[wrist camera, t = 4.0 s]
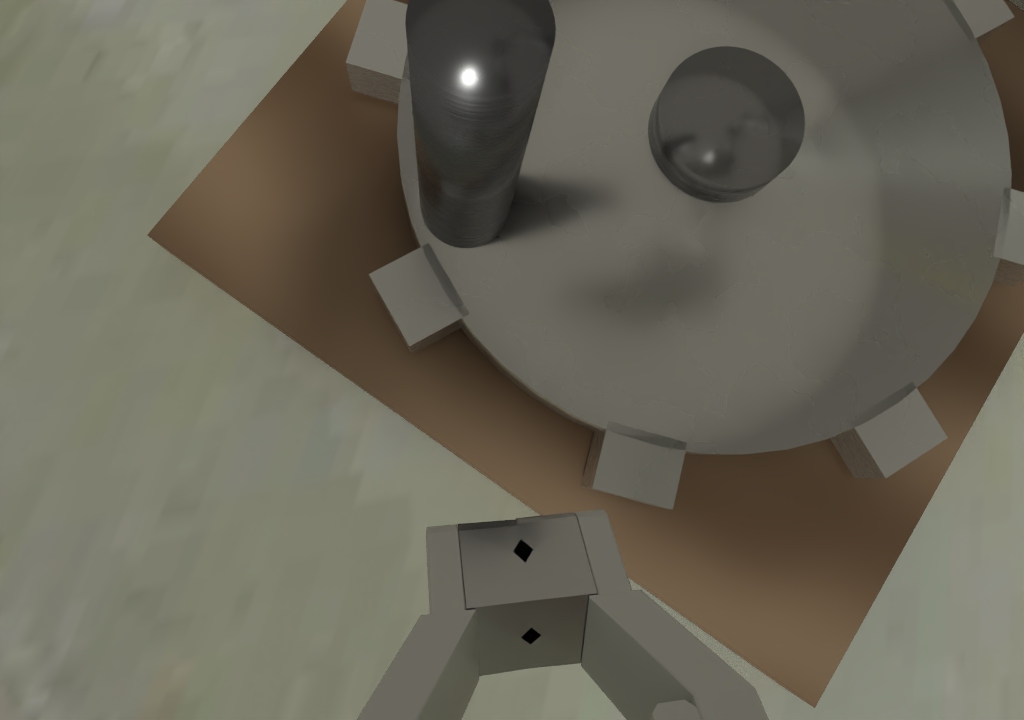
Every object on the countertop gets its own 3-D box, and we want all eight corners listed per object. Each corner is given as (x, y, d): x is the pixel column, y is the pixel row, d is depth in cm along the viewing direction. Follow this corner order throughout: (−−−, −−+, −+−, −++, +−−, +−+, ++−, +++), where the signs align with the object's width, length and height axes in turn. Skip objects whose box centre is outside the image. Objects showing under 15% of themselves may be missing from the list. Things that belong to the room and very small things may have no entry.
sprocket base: (590, -253, 26) (612, -357, 22) (1114, 116, 26) (1212, 65, 22) (167, 251, 22) (118, 212, 18) (788, 690, 21) (851, 731, 18)
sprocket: (606, -253, 24) (715, -726, 14) (1113, 103, 23) (1560, -138, 14) (209, 222, 20) (3, 9, 11) (805, 645, 20) (1129, 806, 11)
